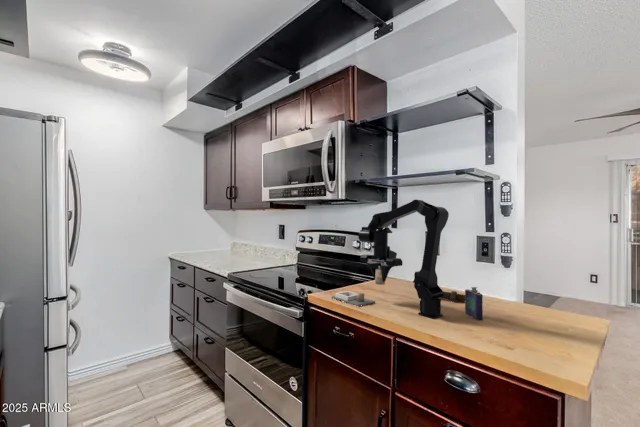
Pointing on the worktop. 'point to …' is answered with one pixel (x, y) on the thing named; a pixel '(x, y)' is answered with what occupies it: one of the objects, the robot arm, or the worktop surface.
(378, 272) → the beige rounded cylinder
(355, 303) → the board
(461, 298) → the bolt
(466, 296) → the flask
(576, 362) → the worktop surface
